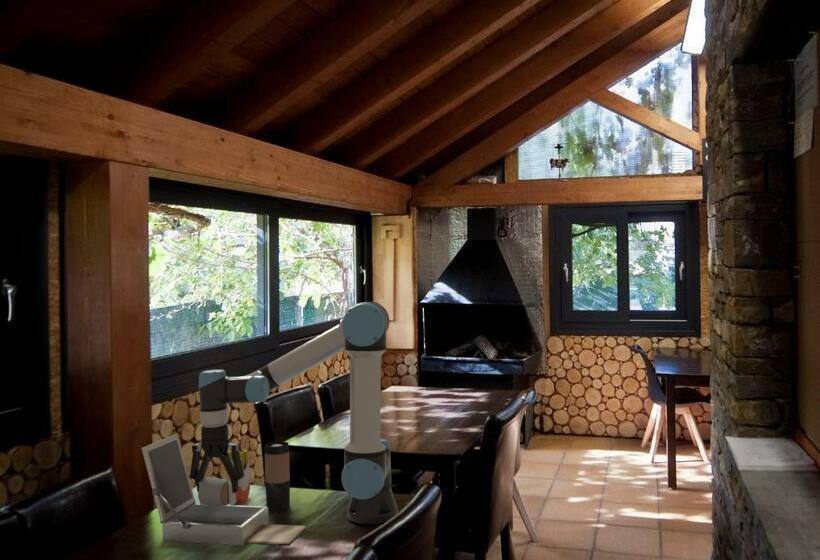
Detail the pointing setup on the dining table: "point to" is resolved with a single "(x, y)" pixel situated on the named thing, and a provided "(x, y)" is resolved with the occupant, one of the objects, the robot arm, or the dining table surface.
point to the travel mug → (277, 476)
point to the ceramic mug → (214, 491)
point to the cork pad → (277, 534)
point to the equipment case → (182, 508)
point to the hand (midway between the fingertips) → (218, 503)
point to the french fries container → (243, 482)
